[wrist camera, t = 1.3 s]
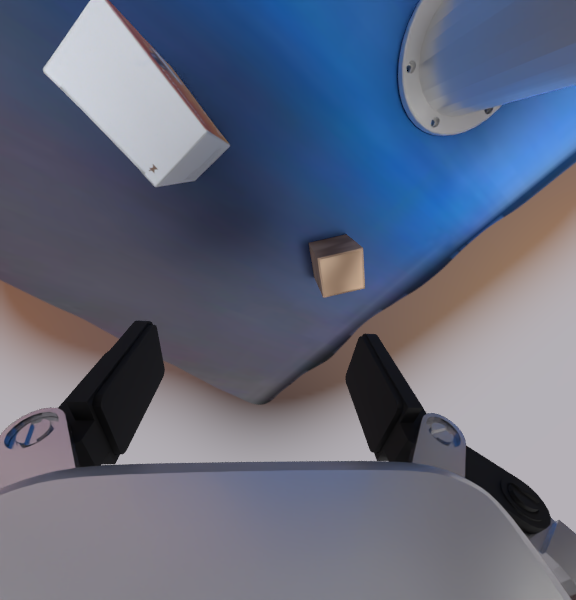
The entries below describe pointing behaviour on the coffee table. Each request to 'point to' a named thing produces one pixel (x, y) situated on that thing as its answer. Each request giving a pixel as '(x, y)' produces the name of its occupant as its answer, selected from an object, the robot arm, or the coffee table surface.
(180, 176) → the small box
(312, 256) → the walnut block
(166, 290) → the coffee table surface
